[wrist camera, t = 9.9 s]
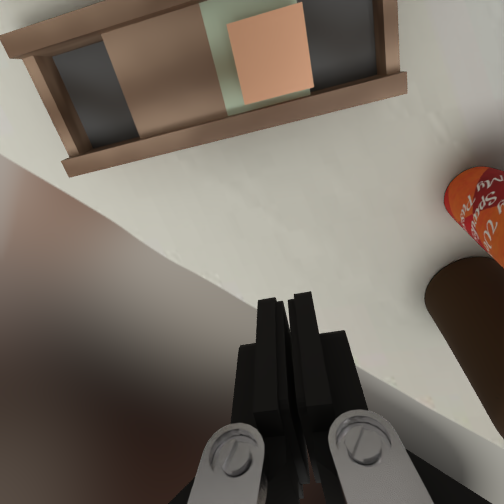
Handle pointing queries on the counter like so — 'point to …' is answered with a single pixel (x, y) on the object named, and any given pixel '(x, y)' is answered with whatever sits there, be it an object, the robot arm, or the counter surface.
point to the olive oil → (474, 325)
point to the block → (271, 53)
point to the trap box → (192, 72)
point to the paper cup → (479, 207)
